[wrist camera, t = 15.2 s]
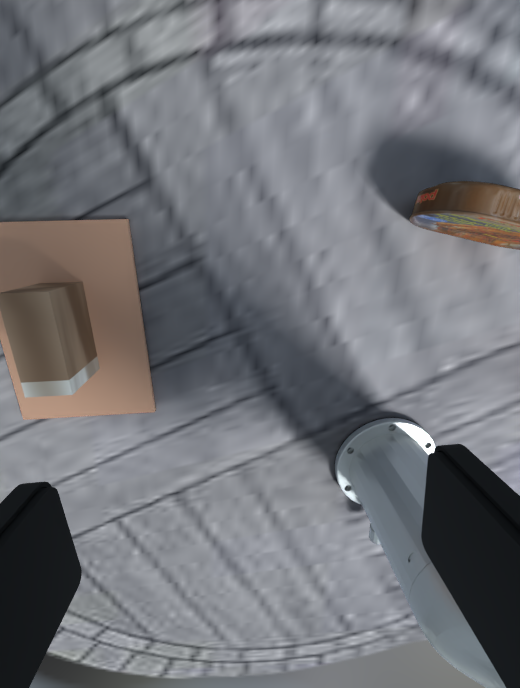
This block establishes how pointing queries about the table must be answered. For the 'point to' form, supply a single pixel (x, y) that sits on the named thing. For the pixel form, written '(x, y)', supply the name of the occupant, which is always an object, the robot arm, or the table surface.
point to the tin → (471, 212)
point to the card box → (50, 337)
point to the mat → (103, 305)
